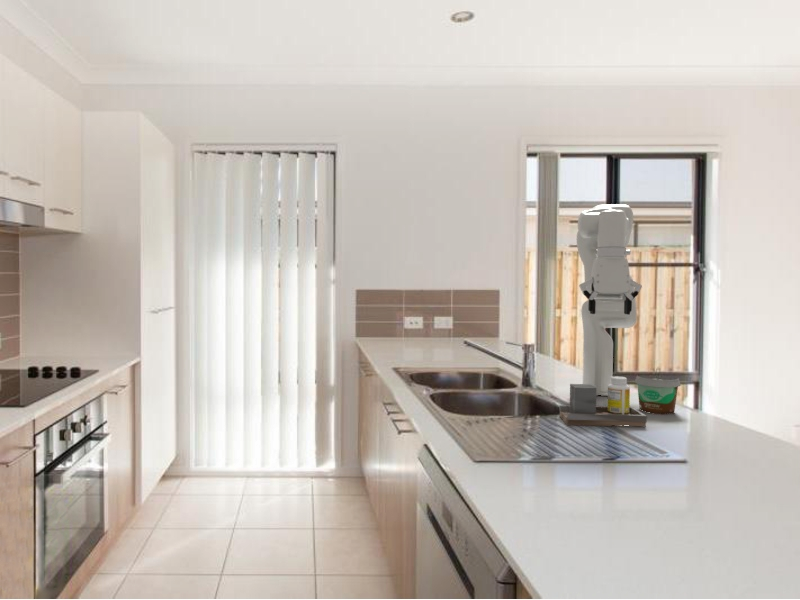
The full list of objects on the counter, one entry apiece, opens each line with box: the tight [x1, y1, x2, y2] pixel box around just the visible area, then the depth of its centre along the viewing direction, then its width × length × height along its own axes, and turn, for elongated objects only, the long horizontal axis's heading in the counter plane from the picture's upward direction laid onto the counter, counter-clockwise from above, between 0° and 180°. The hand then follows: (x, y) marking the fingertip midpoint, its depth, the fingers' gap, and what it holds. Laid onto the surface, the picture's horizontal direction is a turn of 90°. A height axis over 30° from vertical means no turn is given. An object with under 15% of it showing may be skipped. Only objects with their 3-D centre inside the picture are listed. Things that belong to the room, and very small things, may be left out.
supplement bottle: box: [607, 375, 631, 415], centre depth 161 cm, size 6×6×10 cm
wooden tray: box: [558, 383, 648, 428], centre depth 161 cm, size 11×20×10 cm, turn 87°
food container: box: [634, 375, 681, 415], centre depth 173 cm, size 12×6×10 cm, turn 62°
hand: (609, 314), depth 172 cm, fingers open, 9 cm apart
